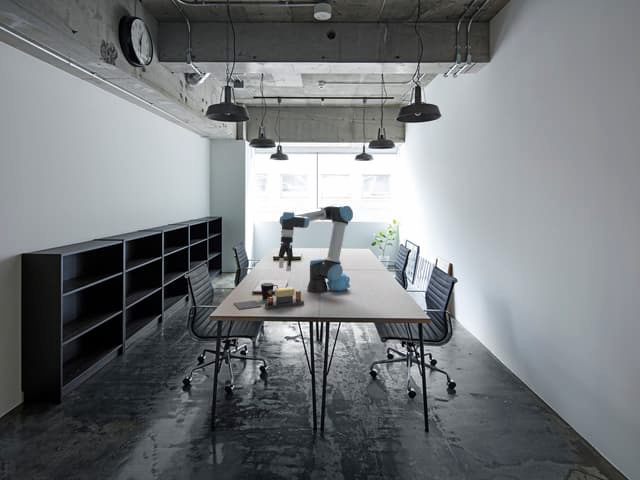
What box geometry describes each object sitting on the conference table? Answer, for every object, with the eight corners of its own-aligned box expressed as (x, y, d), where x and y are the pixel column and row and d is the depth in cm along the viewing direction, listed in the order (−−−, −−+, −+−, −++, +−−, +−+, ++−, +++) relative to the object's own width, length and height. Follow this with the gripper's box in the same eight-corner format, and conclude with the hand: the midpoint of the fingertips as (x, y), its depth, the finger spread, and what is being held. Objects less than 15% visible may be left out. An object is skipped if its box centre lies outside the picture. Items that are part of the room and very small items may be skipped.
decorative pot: (351, 292, 276) (351, 274, 274) (329, 292, 274) (329, 274, 272) (346, 287, 292) (347, 269, 290) (326, 287, 290) (326, 269, 289)
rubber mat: (254, 301, 250) (254, 300, 250) (261, 306, 237) (261, 305, 237) (233, 303, 243) (233, 302, 243) (239, 309, 231) (239, 308, 231)
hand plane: (299, 302, 249) (299, 289, 248) (304, 304, 242) (304, 292, 241) (264, 306, 238) (264, 293, 237) (268, 309, 232) (268, 296, 231)
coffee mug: (261, 300, 251) (261, 286, 250) (260, 297, 259) (260, 283, 258) (278, 299, 253) (278, 285, 252) (277, 296, 262) (277, 282, 261)
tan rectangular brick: (290, 293, 244) (290, 287, 244) (294, 295, 239) (294, 289, 239) (274, 294, 239) (274, 288, 239) (278, 297, 234) (278, 290, 234)
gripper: (275, 234, 249) (272, 266, 250) (288, 237, 226) (285, 272, 227) (285, 235, 252) (283, 266, 253) (300, 238, 229) (297, 272, 231)
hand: (284, 269), depth 240 cm, fingers open, 13 cm apart
